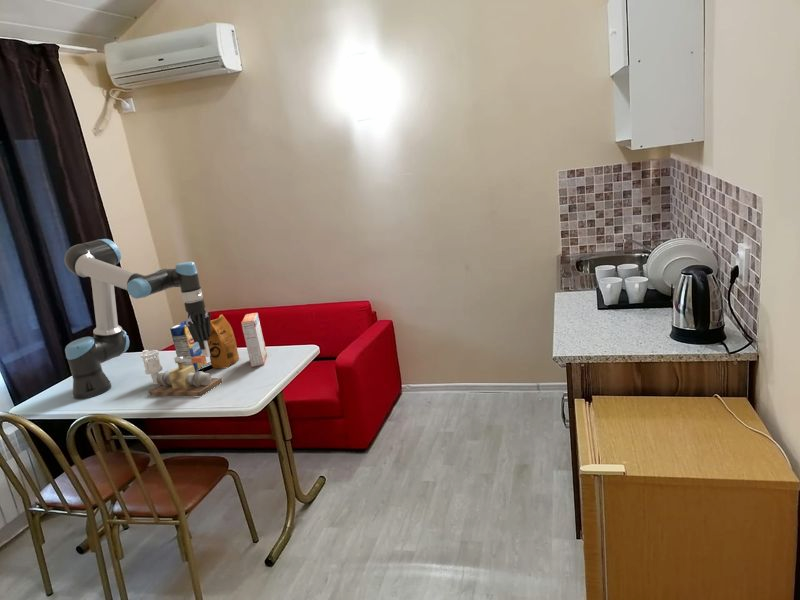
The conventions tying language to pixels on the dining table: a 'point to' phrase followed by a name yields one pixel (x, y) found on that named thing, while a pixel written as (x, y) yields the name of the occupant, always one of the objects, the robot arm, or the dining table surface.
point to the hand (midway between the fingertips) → (206, 355)
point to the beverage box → (186, 345)
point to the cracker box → (254, 339)
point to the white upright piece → (152, 364)
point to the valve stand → (184, 382)
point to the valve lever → (190, 359)
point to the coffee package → (222, 344)
